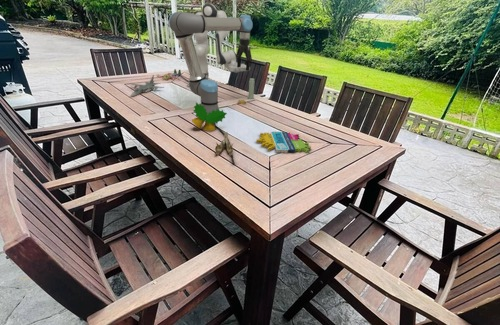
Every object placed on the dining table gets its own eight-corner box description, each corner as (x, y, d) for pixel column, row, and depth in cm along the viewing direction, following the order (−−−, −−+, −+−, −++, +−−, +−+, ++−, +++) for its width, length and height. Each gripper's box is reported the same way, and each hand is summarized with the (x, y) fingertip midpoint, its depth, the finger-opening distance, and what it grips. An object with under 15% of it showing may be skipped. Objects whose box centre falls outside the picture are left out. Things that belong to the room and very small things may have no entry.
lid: (237, 102, 217) (237, 100, 216) (242, 101, 221) (242, 99, 219) (241, 104, 214) (241, 102, 213) (246, 103, 217) (246, 101, 216)
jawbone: (234, 135, 144) (233, 125, 135) (233, 160, 138) (232, 151, 129) (217, 135, 144) (216, 125, 135) (216, 160, 138) (214, 150, 129)
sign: (313, 150, 142) (258, 149, 139) (312, 153, 143) (258, 152, 140) (301, 132, 164) (254, 130, 161) (301, 134, 165) (254, 133, 162)
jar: (254, 98, 233) (255, 79, 224) (251, 99, 229) (252, 79, 221) (250, 97, 235) (251, 78, 227) (247, 98, 232) (248, 78, 224)
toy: (189, 70, 290) (176, 74, 264) (189, 77, 293) (177, 81, 267) (166, 67, 295) (151, 71, 269) (167, 74, 298) (152, 78, 272)
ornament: (218, 133, 171) (224, 110, 169) (221, 134, 163) (227, 111, 161) (186, 125, 162) (192, 101, 160) (189, 126, 155) (195, 101, 153)
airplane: (124, 86, 238) (122, 75, 233) (160, 84, 251) (158, 74, 246) (129, 99, 209) (126, 86, 204) (168, 96, 223) (167, 84, 217)
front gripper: (258, 40, 186) (255, 71, 196) (240, 37, 204) (239, 65, 214) (249, 40, 182) (247, 72, 193) (232, 37, 200) (231, 66, 211)
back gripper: (226, 64, 233) (234, 66, 223) (245, 63, 244) (253, 66, 234) (225, 71, 236) (233, 74, 227) (244, 70, 247) (253, 73, 237)
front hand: (243, 68), depth 204 cm, fingers open, 13 cm apart
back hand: (244, 70), depth 230 cm, fingers open, 8 cm apart
